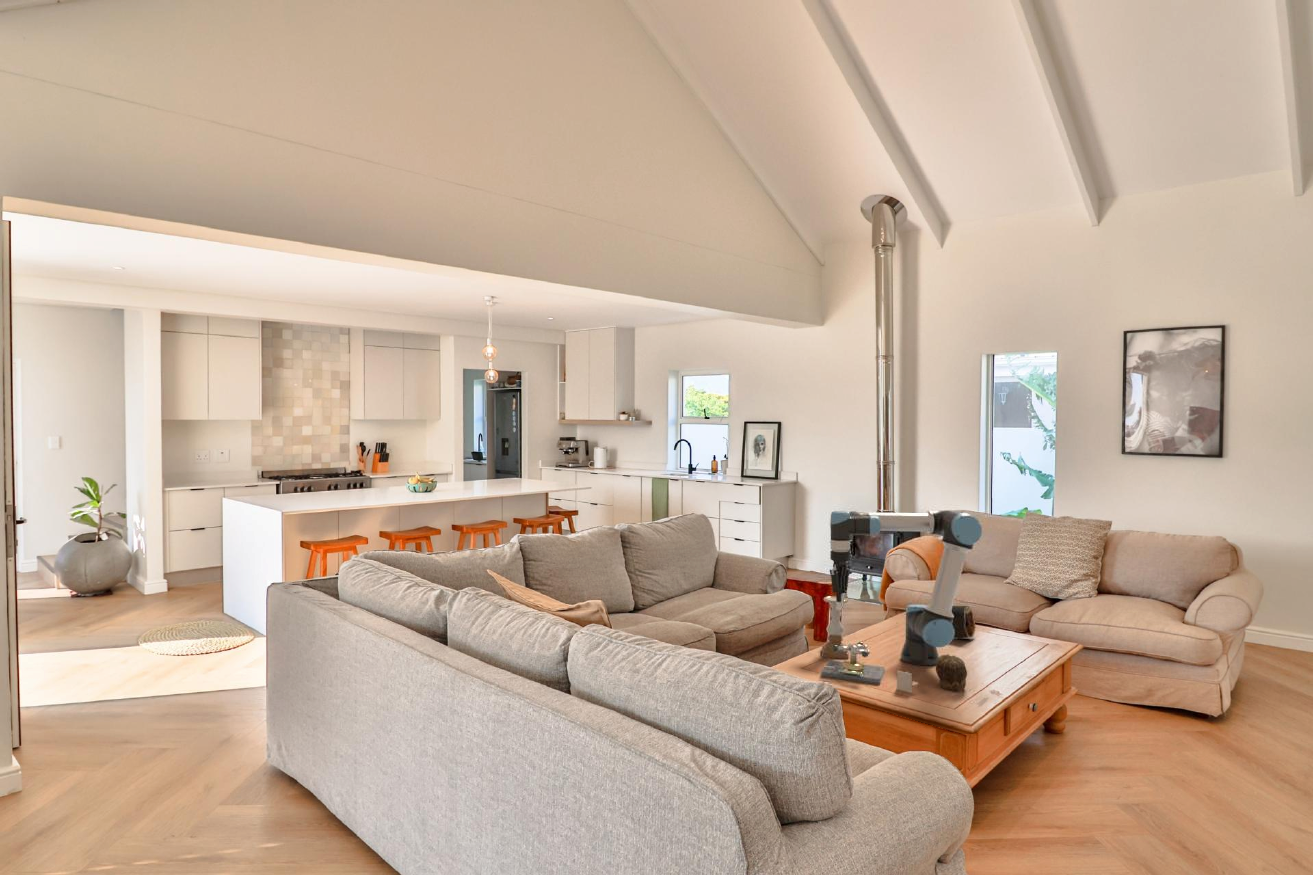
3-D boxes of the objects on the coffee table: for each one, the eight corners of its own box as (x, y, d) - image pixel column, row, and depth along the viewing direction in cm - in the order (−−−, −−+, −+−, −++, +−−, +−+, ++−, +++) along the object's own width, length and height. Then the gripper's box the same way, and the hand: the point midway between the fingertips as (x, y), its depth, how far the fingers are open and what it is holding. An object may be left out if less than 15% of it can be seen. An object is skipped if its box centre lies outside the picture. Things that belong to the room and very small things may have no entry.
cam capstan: (830, 662, 316) (830, 640, 316) (865, 663, 314) (865, 641, 314) (834, 673, 301) (834, 650, 301) (871, 675, 300) (871, 652, 300)
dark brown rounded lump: (930, 683, 298) (931, 652, 298) (958, 682, 299) (958, 651, 299) (943, 693, 287) (943, 660, 287) (972, 692, 288) (972, 660, 288)
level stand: (884, 671, 311) (884, 661, 311) (879, 684, 296) (880, 673, 296) (828, 664, 319) (828, 655, 319) (821, 676, 304) (821, 666, 304)
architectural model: (900, 688, 294) (901, 668, 294) (918, 692, 289) (918, 672, 289) (896, 690, 291) (896, 670, 291) (914, 694, 287) (914, 674, 286)
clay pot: (918, 602, 379) (971, 600, 364) (925, 633, 379) (978, 632, 364) (908, 612, 367) (962, 610, 352) (915, 644, 367) (970, 644, 352)
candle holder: (848, 658, 328) (849, 602, 327) (822, 657, 330) (822, 600, 329) (847, 651, 338) (848, 596, 338) (821, 649, 340) (822, 595, 340)
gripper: (839, 547, 317) (839, 604, 318) (823, 551, 308) (823, 611, 308) (856, 549, 312) (856, 607, 313) (840, 553, 303) (840, 614, 303)
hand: (840, 609), depth 311 cm, fingers closed
